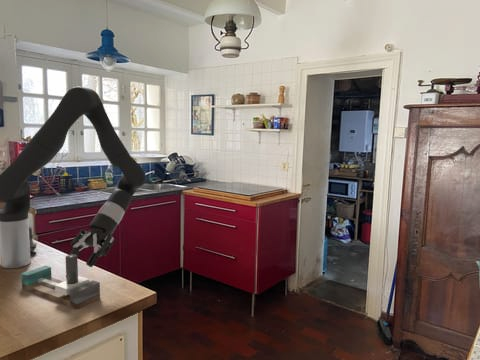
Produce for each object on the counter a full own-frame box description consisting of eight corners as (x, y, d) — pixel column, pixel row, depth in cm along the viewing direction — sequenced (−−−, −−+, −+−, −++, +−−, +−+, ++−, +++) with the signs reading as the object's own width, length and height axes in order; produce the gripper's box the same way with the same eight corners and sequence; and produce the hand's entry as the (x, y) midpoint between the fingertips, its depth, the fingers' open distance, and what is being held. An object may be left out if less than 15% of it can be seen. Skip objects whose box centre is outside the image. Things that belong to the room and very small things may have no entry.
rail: (22, 288, 115) (21, 273, 114) (46, 279, 122) (45, 265, 121) (77, 309, 102) (76, 292, 102) (100, 298, 109) (99, 282, 109)
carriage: (55, 291, 106) (53, 258, 105) (78, 281, 113) (77, 251, 112) (66, 295, 104) (64, 262, 103) (89, 285, 111) (88, 254, 110)
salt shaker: (29, 257, 142) (27, 227, 141) (16, 255, 143) (14, 226, 142) (40, 252, 148) (39, 223, 146) (28, 250, 149) (26, 222, 147)
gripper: (85, 209, 119) (55, 253, 111) (117, 215, 112) (87, 261, 104) (99, 221, 124) (71, 264, 116) (130, 227, 118) (102, 273, 109)
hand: (79, 263), depth 110 cm, fingers open, 8 cm apart
